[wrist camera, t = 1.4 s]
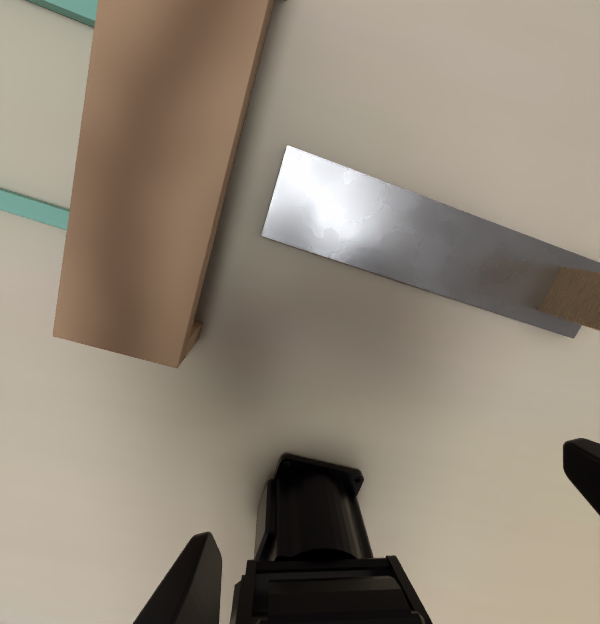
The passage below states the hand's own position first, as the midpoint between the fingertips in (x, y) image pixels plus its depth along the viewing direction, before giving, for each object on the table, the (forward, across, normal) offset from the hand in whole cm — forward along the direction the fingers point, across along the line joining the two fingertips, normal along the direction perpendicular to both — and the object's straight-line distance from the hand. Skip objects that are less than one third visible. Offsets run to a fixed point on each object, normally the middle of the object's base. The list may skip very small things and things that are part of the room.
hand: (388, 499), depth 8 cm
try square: (+13, -9, -3) cm, 16 cm away
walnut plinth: (+13, +5, -12) cm, 18 cm away
